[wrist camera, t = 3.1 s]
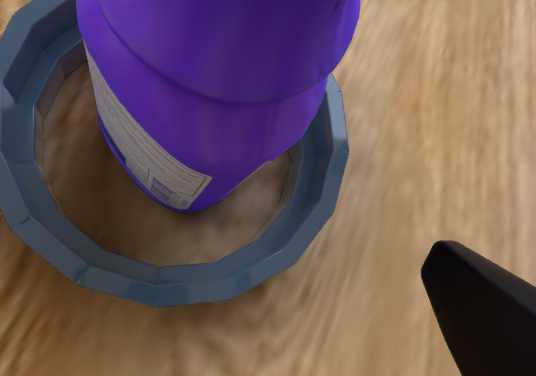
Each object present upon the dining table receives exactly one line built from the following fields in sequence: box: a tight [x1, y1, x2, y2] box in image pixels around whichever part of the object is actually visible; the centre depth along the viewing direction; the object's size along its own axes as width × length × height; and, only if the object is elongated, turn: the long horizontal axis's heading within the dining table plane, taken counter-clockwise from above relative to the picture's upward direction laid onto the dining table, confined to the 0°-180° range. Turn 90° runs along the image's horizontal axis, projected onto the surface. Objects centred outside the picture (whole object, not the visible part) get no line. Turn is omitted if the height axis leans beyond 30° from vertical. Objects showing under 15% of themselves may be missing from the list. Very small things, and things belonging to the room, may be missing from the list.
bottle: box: [76, 0, 360, 212], centre depth 13 cm, size 7×6×17 cm
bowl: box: [0, 0, 349, 308], centre depth 19 cm, size 15×15×4 cm
